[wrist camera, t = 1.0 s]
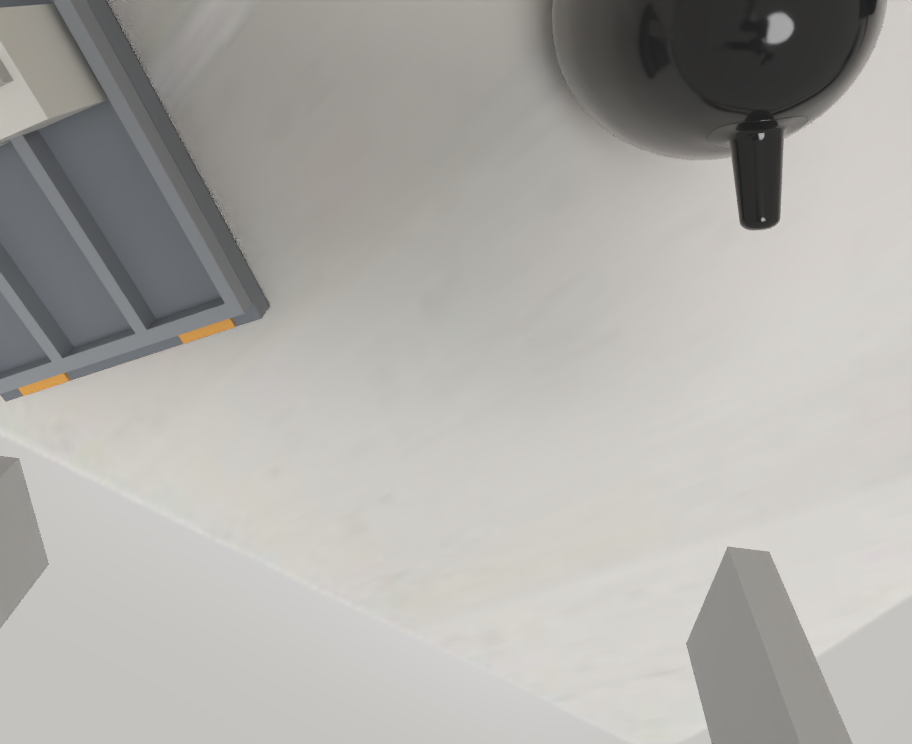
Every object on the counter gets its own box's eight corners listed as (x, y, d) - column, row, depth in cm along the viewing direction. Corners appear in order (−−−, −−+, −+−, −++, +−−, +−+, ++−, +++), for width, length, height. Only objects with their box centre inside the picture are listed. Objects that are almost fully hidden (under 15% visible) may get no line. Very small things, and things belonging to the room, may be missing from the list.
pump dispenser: (553, 145, 33) (583, 263, 20) (539, -123, 28) (567, -206, 15) (780, 120, 32) (974, 228, 18) (809, -165, 26) (1106, -298, 13)
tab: (-16, 38, 30) (-116, 51, 25) (58, 2, 29) (-31, 9, 25) (40, 129, 32) (-43, 157, 27) (112, 97, 31) (39, 121, 26)
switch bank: (-245, 42, 33) (-303, 47, 30) (46, -112, 29) (5, -119, 27) (21, 388, 42) (-8, 412, 39) (269, 306, 38) (254, 328, 36)
